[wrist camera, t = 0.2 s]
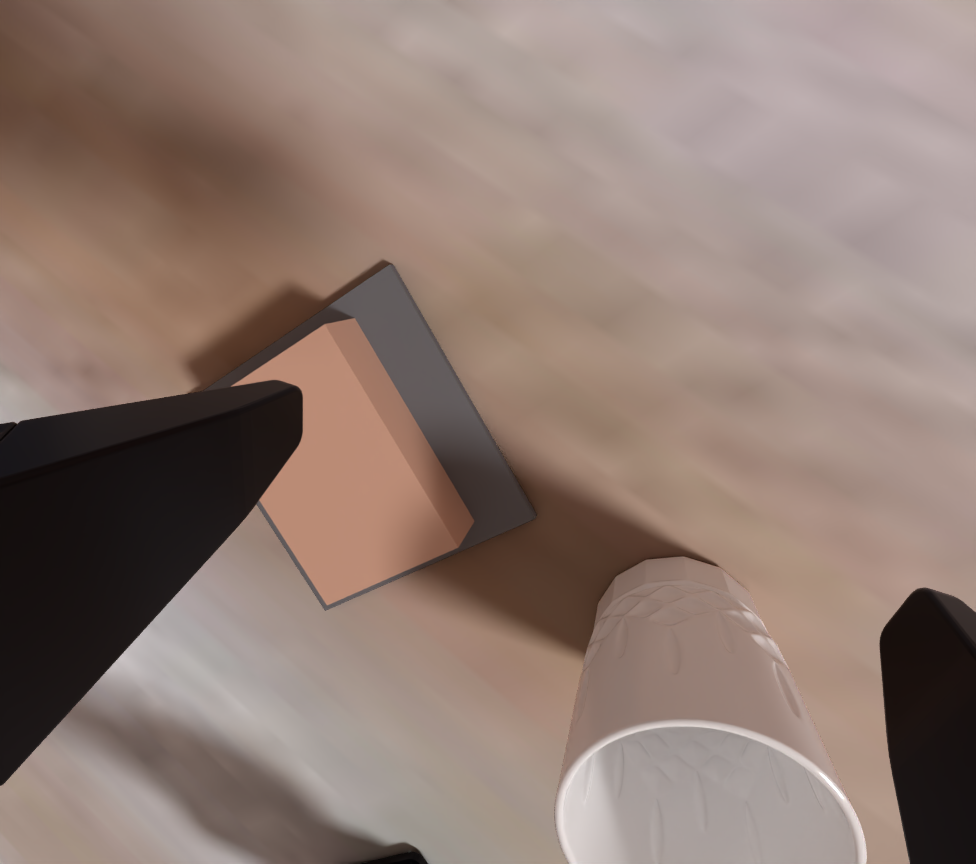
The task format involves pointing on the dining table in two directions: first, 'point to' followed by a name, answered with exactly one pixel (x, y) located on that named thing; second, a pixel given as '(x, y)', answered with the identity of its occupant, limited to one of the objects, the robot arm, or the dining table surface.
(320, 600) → the rubber mat
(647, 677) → the white cup
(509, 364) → the dining table surface
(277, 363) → the terracotta tile
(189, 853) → the dining table surface
